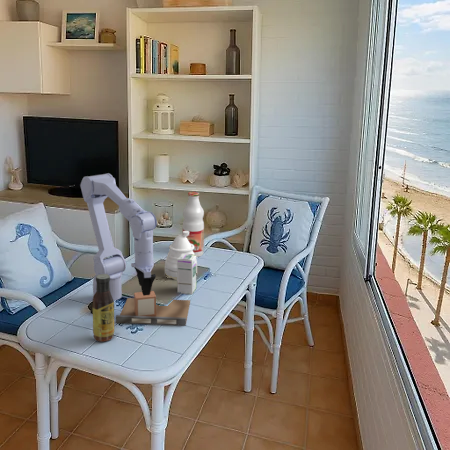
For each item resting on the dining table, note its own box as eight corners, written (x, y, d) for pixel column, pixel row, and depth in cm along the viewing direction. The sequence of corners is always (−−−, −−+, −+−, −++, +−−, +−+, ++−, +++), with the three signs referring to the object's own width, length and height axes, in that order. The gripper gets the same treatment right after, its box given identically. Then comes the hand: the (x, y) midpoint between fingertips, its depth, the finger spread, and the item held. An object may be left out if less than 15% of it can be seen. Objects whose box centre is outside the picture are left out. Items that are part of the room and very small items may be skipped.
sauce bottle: (103, 345, 145) (101, 282, 140) (88, 338, 149) (85, 277, 143) (119, 335, 151) (117, 275, 145) (104, 330, 154) (102, 270, 148)
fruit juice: (207, 253, 221) (209, 192, 213) (193, 259, 214) (194, 196, 206) (192, 248, 227) (193, 189, 218) (177, 254, 220) (178, 192, 211)
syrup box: (192, 297, 178) (193, 260, 174) (176, 295, 179) (176, 258, 175) (196, 291, 183) (197, 254, 179) (181, 289, 184) (181, 252, 180)
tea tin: (134, 312, 163) (134, 292, 161) (153, 310, 165) (153, 290, 163) (136, 318, 159) (135, 298, 157) (156, 316, 161) (155, 296, 159)
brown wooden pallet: (116, 326, 156) (115, 316, 155) (127, 301, 174) (127, 292, 173) (185, 329, 156) (185, 319, 155) (190, 303, 173) (190, 294, 172)
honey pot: (200, 269, 203) (200, 227, 198) (192, 282, 191) (193, 237, 186) (169, 266, 205) (169, 225, 200) (160, 278, 193) (160, 235, 188)
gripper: (128, 243, 161) (129, 282, 165) (134, 259, 148) (135, 300, 152) (149, 242, 163) (150, 280, 167) (157, 257, 150) (157, 298, 154)
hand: (144, 289), depth 160 cm, fingers open, 7 cm apart
